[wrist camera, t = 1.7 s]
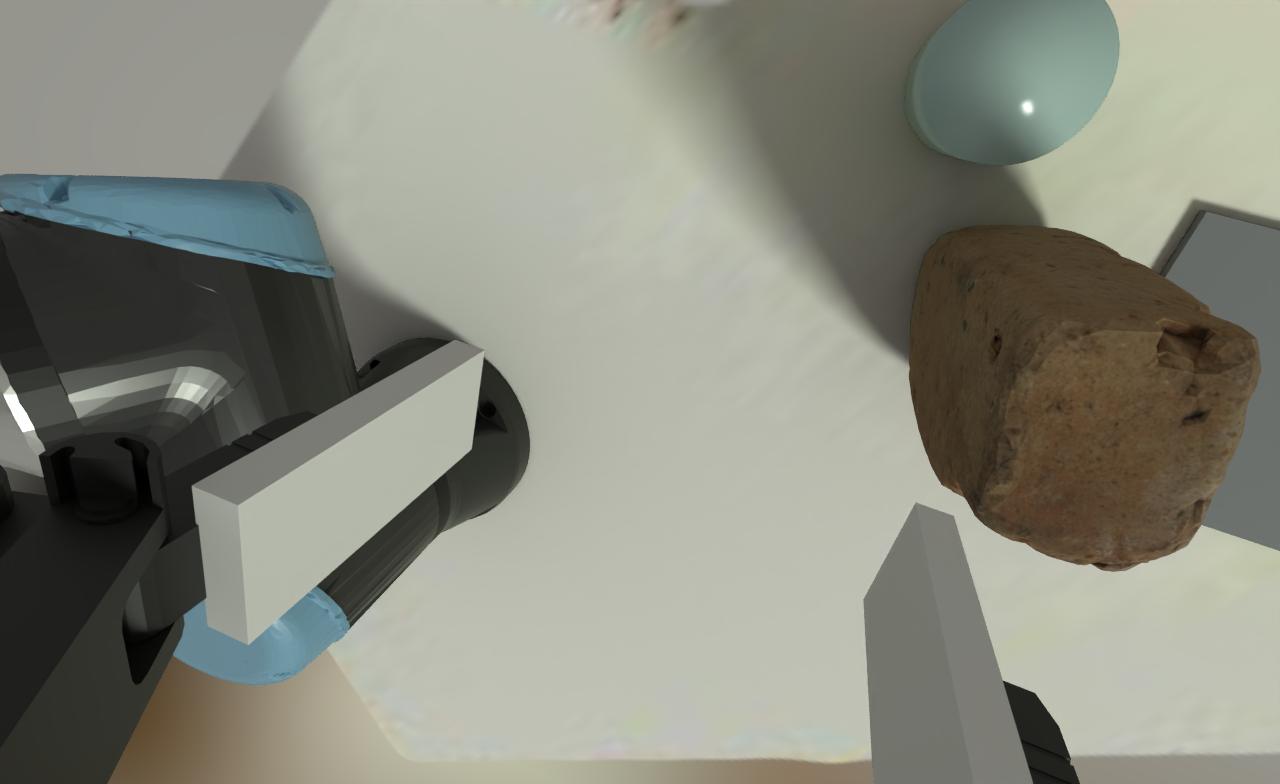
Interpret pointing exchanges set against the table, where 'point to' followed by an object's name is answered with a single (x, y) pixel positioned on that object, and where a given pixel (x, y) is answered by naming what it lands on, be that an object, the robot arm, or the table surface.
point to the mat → (1276, 315)
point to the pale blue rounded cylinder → (1012, 78)
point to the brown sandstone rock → (1074, 392)
